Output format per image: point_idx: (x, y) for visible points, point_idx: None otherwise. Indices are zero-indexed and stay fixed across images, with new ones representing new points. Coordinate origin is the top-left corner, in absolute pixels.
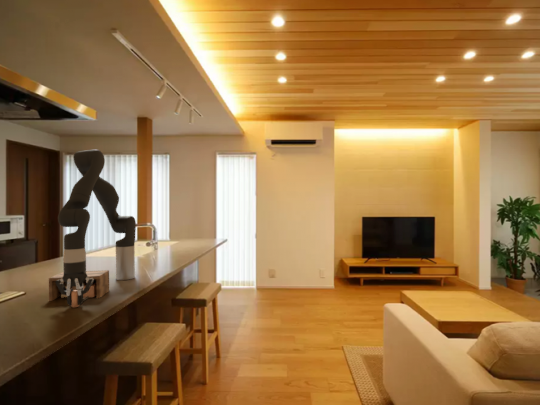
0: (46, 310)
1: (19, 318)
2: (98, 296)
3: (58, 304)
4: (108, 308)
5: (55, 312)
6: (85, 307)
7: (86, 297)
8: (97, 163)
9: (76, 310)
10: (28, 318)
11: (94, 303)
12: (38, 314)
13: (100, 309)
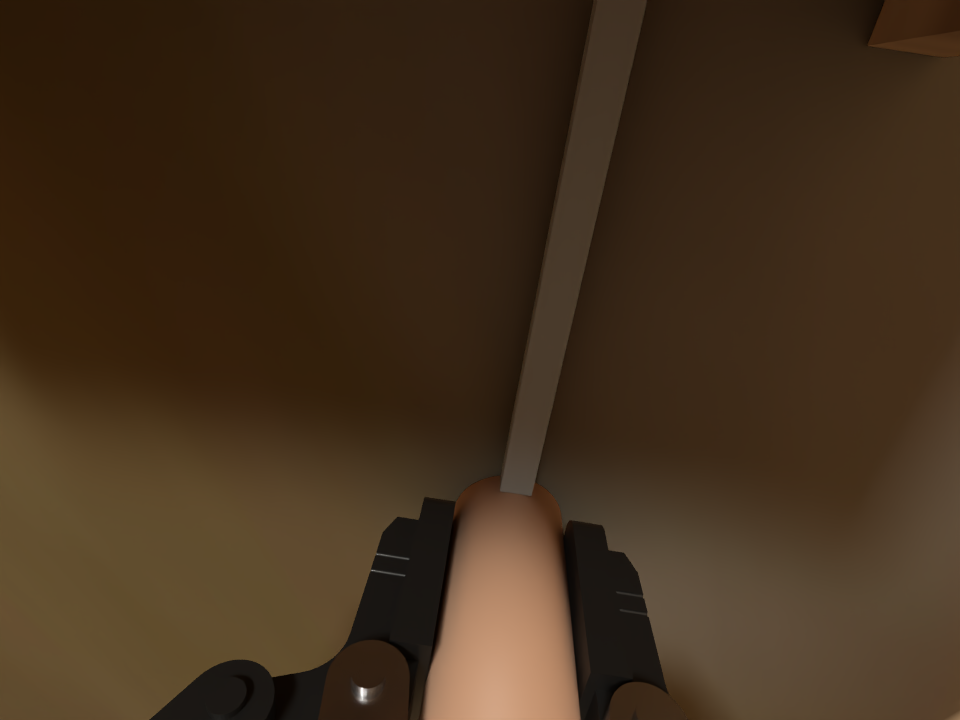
0: (155, 531)
1: (38, 681)
2: (950, 46)
3: (153, 280)
4: (956, 704)
5: (323, 634)
6: (659, 579)
7: (630, 57)
8: None
9: None
10: (135, 706)
11: (792, 436)
12: (156, 635)
13: (853, 704)
